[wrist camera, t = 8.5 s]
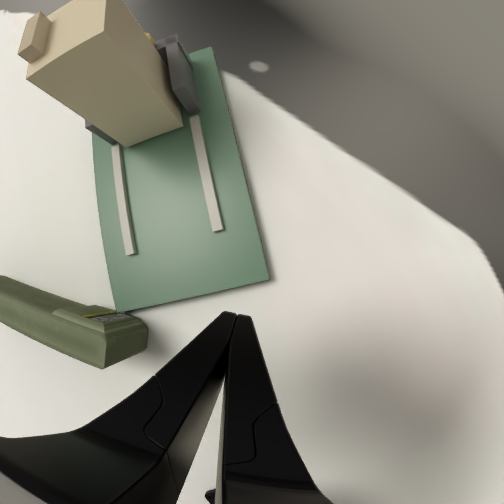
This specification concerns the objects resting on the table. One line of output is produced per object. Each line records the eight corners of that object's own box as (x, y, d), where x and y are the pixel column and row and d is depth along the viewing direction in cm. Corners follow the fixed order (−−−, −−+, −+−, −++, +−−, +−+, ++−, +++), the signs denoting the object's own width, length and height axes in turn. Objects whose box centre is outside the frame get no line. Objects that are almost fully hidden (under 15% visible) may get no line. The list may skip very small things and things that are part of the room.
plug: (183, 126, 22) (91, 17, 9) (126, 147, 23) (11, 69, 10) (175, 77, 23) (99, -32, 10) (122, 99, 23) (28, 12, 10)
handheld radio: (147, 357, 24) (-22, 288, 27) (151, 318, 24) (-19, 261, 27) (103, 379, 17) (-62, 287, 20) (107, 329, 17) (-60, 257, 21)
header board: (270, 278, 22) (260, 284, 16) (123, 311, 24) (73, 323, 17) (213, 53, 24) (193, 5, 17) (96, 99, 25) (58, 68, 19)
